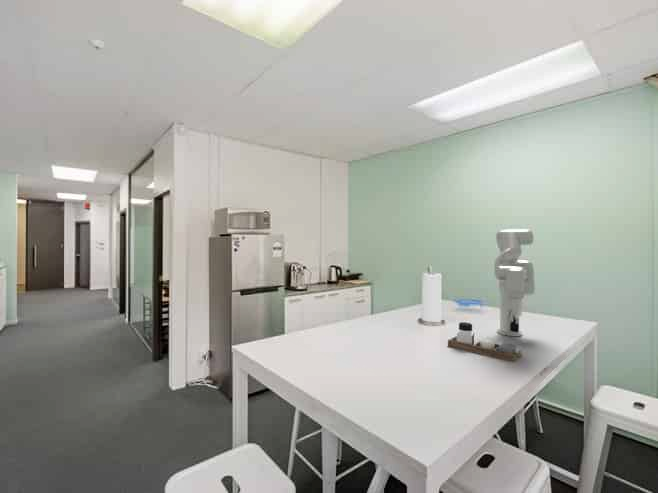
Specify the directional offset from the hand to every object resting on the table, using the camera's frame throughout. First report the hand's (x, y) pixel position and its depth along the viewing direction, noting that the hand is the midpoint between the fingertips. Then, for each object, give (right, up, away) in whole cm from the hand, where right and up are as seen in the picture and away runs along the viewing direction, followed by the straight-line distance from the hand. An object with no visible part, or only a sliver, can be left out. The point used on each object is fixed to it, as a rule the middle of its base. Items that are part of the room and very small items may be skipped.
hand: (514, 331), depth 153 cm
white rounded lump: (-15, -9, -3) cm, 18 cm away
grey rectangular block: (-9, -9, -9) cm, 16 cm away
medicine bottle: (-22, -9, +4) cm, 24 cm away
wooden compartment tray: (-16, -9, -2) cm, 19 cm away
